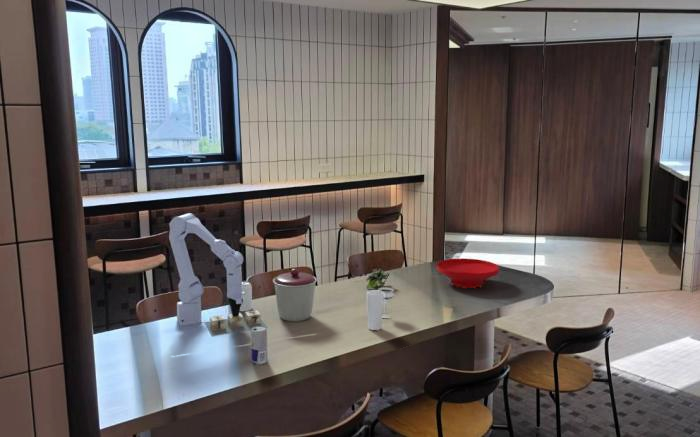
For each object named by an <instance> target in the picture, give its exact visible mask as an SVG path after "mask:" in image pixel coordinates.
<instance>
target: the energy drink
mask: <svg viewBox="0 0 700 437" xmlns="http://www.w3.org/2000/svg"><path fill="white" fill-rule="evenodd" d="M250 346H251V347H250V349H251V350H250V351H251V353H250V354H251V357H250V358H251V363H252V364H253V365H255V364H256V366H262V365H265V364H266V363H267V362H268V330H267V328H266V327H264V326H255V327H253V328H252V329H251V331H250Z"/></svg>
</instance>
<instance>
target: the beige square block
mask: <svg viewBox="0 0 700 437" xmlns="http://www.w3.org/2000/svg"><path fill="white" fill-rule="evenodd" d="M225 319H226V318H225V316H224V315H223V314H222V315H220V314H219V315H214V316H213V315H211V316H209V322H210V326H211V328H212V330H213V331H214V330H221V329H226V322H225Z"/></svg>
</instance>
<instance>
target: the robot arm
mask: <svg viewBox="0 0 700 437" xmlns="http://www.w3.org/2000/svg"><path fill="white" fill-rule="evenodd" d="M168 225H169V233H168V234H169V235H168V239H169V243H170V245H171V250H172V253H173V256H174V257H173V258H174V260H175V264H176V268H177V271H178V275H179V278H180V280H179V283H178V285H177V286H178V287H177V288H178V298H179V300H180V301H177V302H176V320H177V322H178V324H179V326H180V327H181V326H186V325H187V326H188V325H194V324H202V323H204V322H205V321H204V319H203V317H202V300H201V299H202V295H203V294H204V287H203V284H202V283H201V282H200V279H199V278H198V276H196V275H195V273H194V270H193V266H192V262H191V258H190V255H189V251H188V248H187V244H186V241H185V237H186V236H188V235H187V234H195V236H198V237H199V238H200V239H202V241H204V242H205V243H206V244H208V245H209V246H210V250H211V252H212V253H213V254H214V255H216V256H217V257H218V258H219V259H220V260H221V261H223V266H224V268H225V270H226V289H227V290H226V292H227V293H226V297H227V298H226V300H227V302H228V305H229V306H230V311H231V314H232V315H233V316H239V313H240V312H241V311H240V307H241V304H242V302H243V299H242V296H243V295H245V292H242V281H243V278H242V276H243V274H242V264H243V262H244V259H245V258H244V256H243V254H242V253H241V252H240V251H237V250H236V251H235V248H233V249H232V247H230V246H229V245H228V244H227V242H226V240H222V239H217V238H216V237H215V236H214V235H213V234H212V233H211V232H210V231H209V230H208V229H207V228H206V226H204V225H203V224H202V223H201V220H200V219H199V218H198V217H196V216H195V215H194V214H193V213H190V212H189V213H185V214H182V215H179V216H174V217H173V218H172V219H171V221H170V222H169V223H168Z"/></svg>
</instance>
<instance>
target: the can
mask: <svg viewBox="0 0 700 437" xmlns="http://www.w3.org/2000/svg"><path fill="white" fill-rule="evenodd" d="M242 292H245V295H243V296H242V299H243V302H242V304H241V307H240V311H239V312H249V311H252V309H253V289H252V284H251V282H250V281H248V280H247V281H246V280H242Z"/></svg>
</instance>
